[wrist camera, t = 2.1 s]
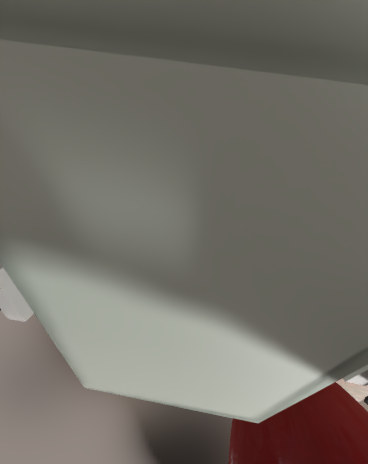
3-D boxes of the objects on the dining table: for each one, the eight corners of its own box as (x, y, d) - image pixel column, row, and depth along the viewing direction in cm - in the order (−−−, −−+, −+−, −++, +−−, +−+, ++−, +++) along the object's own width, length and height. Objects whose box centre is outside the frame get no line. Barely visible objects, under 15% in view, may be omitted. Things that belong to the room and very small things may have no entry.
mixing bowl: (401, 355, 25) (624, 592, 12) (320, 404, 39) (379, 535, 26) (227, 332, 28) (250, 508, 14) (211, 386, 42) (214, 498, 29)
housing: (151, 116, 12) (-235, -84, 1) (276, 133, 11) (980, 36, 1) (150, 253, 19) (84, 387, 8) (227, 266, 18) (258, 423, 8)
